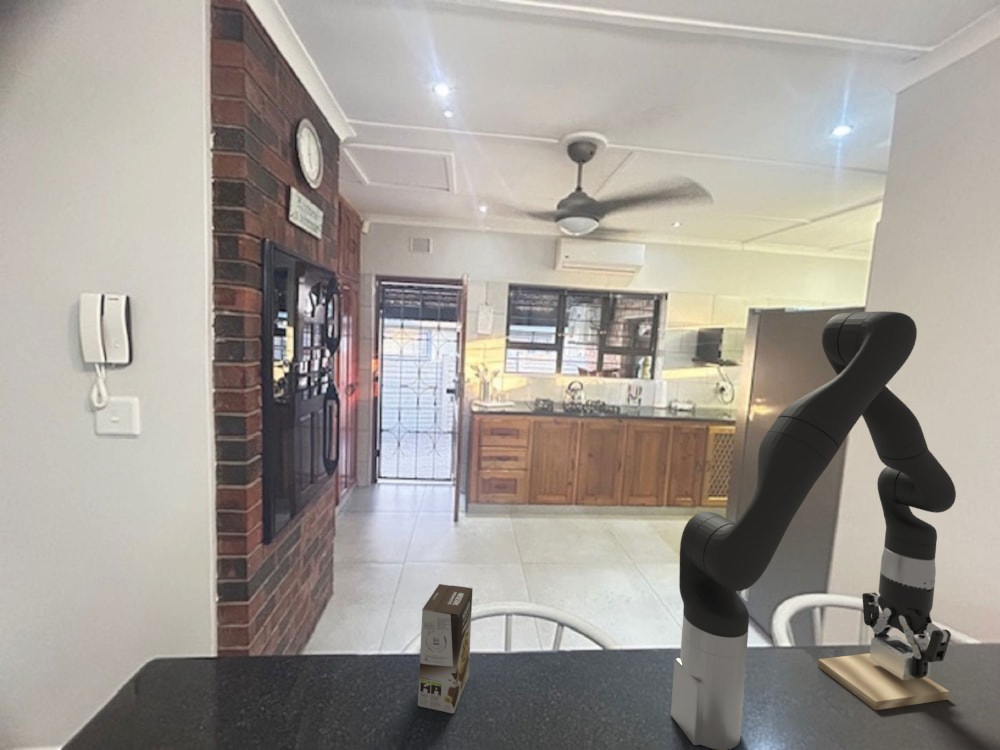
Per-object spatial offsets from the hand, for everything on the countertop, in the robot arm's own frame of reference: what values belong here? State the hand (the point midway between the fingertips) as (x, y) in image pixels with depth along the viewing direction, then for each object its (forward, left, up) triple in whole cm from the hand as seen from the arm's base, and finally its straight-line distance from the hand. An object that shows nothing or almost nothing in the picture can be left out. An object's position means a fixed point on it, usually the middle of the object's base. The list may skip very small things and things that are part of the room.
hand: (898, 664), depth 86 cm
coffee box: (-83, +10, -3) cm, 84 cm away
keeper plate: (-4, 0, -3) cm, 5 cm away
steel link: (0, 0, -1) cm, 1 cm away
